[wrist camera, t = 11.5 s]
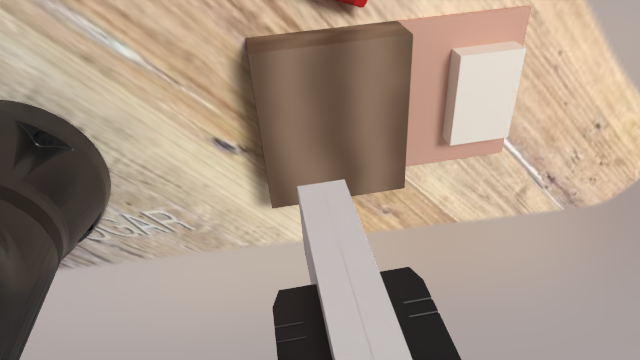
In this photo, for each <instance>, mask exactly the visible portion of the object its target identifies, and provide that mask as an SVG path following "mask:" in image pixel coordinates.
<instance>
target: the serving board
mask: <svg viewBox="0 0 640 360" xmlns="http://www.w3.org/2000/svg"><path fill="white" fill-rule="evenodd" d="M246 44H247V53H248V60H249V66H250V72H251V79H252V85H253V91H254V97H255V104H256V110H257V116H258V122H259V129H260V135H261V141H262V147H263V154H264V160H265V166H266V172H267V179H268V185H269V191H270V197H271V204H272V208H278V207H285V206H291V205H298V204H299V197H298V189H297V186H303V185H310V184H316V183H323V182H330V181H336V180H343V179H345V182H346V185H347V187H348V190H349V192H350V195H351V196H356V195H362V194H369V193H375V192H382V191H388V190H395V189H401V188H404V184H405V167H406V150H407V133H408V116H409V99H410V82H411V65H412V48H413V34H412V33H411V32H410V31H409V30H408V29H406V28H405V27H404V26H403V25H402V24H401V23H400V22H398V21H391V22H382V23H373V24H365V25H356V26H347V27H338V28H330V29H321V30H312V31H304V32H295V33H286V34H277V35H269V36H260V37H251V38H246Z"/></svg>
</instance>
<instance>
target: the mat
mask: <svg viewBox="0 0 640 360" xmlns="http://www.w3.org/2000/svg"><path fill="white" fill-rule="evenodd" d="M530 10H531V7H530V6H522V7H513V8H504V9H495V10H487V11H478V12H469V13H461V14H452V15H443V16H434V17H426V18H417V19H408V20H400V21H398V22H400V23H401V24H402V25H403V26H404V27H405V28H406V29H408V30H409V31H410V32H411V33H412V34H413V48H412V65H411V82H410V99H409V116H408V133H407V150H406V166H411V165H418V164H425V163H431V162H438V161H445V160H451V159H458V158H465V157H471V156H478V155H485V154H492V153H498V152H501V151H502V147H503V142H504V138H499V139H493V140H486V141H479V142H472V143H465V144H458V145H452V146H450V145H449V144H448V142H447V141H446V140H445V139H444V137H443V136H442V133H443V124H444V115H445V106H446V97H447V88H448V79H449V70H450V61H451V52H452V49H454V48H462V47H470V46H479V45H487V44H495V43H503V42H511V41H515V42H517V43H519V44H520V45H522V46H523V44H524V39H525V34H526V29H527V25H528V20H529V15H530Z"/></svg>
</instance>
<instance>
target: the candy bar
mask: <svg viewBox="0 0 640 360" xmlns="http://www.w3.org/2000/svg"><path fill="white" fill-rule="evenodd" d="M337 1H340V2H343V3H346V4H351V5H355V6H358V7H364V6H365V4H366V3H367V0H337Z"/></svg>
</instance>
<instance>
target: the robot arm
mask: <svg viewBox="0 0 640 360" xmlns="http://www.w3.org/2000/svg"><path fill="white" fill-rule="evenodd" d="M297 189H298V197H299V206H300V215H301V224H302V233H303V241H304V250H305V255H306V260H307V265H308V270H309V275H310V280H311V285H307V286H302V287H296V288H291V289H284V290H279V292H278V294H277V297H276V300H275V303H274V305H273V316H274V326H275V336H276V345H277V356H278V360H461V358H460V356H459V354H458V352H457V350H456V348H455V346H454V343H453V341H452V339H451V337H450V335H449V333H448V331H447V329H446V327H445V324H444V322H443V320H442V319H441V316H440V314H439V313H438V310H437V308H436V306H435V304H434V302H433V300H432V299H431V296H430V293H429V291H428V289H427V287H426V285H425V283H424V280H423V279H422V278H421V277H420V276H418V275H417V274H416V273H415V272H414V271H413V270H412V269H411V268H409V267H405V268H399V269H394V270H388V271H383V272H379V269H378V267H377V264H376V262H375V259H374V256H373V254H372V251H371V248H370V246H369V243H368V240H367V238H366V235H365V232H364V230H363V227H362V224H361V222H360V219H359V216H358V214H357V211H356V208H355V206H354V203H353V200H352V198H351V195H350V192H349V190H348V187H347V185H346V182H345V179H343V180H336V181H330V182H323V183H316V184H310V185H303V186H297ZM110 190H111V183H110V175H109V171H108V168H107V166H106V163H105V161H104V159H103V157H102V155H101V154H100V152H99V151H98V149H97V148H96V147H95V145H94V144H93V143H92V142H91V141H90V140H89V139H88V138H87V137H86V136H85V135H84V134H83V133H82V132H81V131H79V130H78V129H77V128H76V127H74V126H73V125H71V124H70V123H68V122H67V121H65V120H64V119H62V118H60V117H58V116H56V115H54V114H52V113H50V112H48V111H45V110H43V109H40V108H37V107H34V106H31V105H28V104H24V103H19V102H14V101H6V100H0V360H19V359H20V357H21V354H22V352H23V350H24V347H25V344H26V342H27V340H28V338H29V335H30V333H31V330H32V328H33V326H34V323H35V321H36V319H37V316H38V314H39V312H40V309H41V307H42V305H43V302H44V300H45V297H46V295H47V293H48V290H49V288H50V285H51V283H52V281H53V278H54V276H55V273H56V271H57V269H58V267H59V264H60V262H61V260H62V259H63V258H64V257H66V256H67V255H68V254H69V253H70V252H71V251H72V250H73V249H74V248H75V247H76V245H77V244H78V243H79V242H81V241H82V240H83V239H85V238H86V237H87V236H88V235H89V234H90V233H91V232H92V231H93V230H94V229H95V227H96V226H97V225H98V223H99V222H100V220H101V218H102V216H103V214H104V211H105V208H106V205H107V203H108V200H109V196H110Z"/></svg>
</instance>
